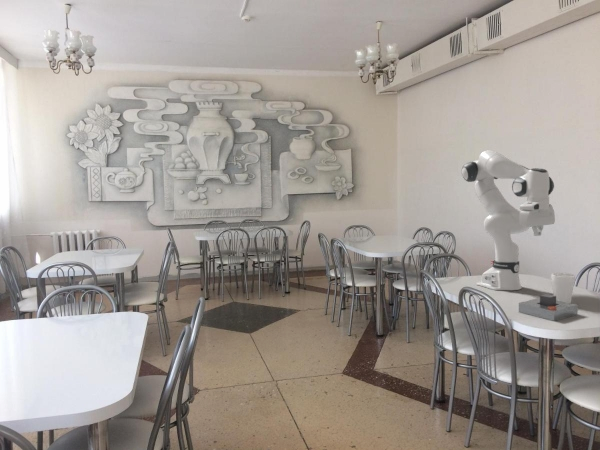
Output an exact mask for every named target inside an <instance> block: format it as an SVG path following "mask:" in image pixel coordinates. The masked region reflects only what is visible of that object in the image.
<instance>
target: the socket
mask: <svg viewBox="0 0 600 450" xmlns="http://www.w3.org/2000/svg"><path fill="white" fill-rule="evenodd" d="M578 307H579V306H578V304H576V303H566V302H561V301H557V300H556V305H555V306H545V305H540V297H539V298H534V299H530V300H525V301H521V302H518V313H520V314H525V315H528V316H533V317H538V318H540V319H545V320H549V321H552V322H555V321H558V320H563V319H566V318H569V317H573V316H577V315H578V310H579V309H578Z"/></svg>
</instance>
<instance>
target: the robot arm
mask: <svg viewBox="0 0 600 450" xmlns="http://www.w3.org/2000/svg"><path fill="white" fill-rule="evenodd" d="M461 176H462V177H463V180H464V181H466V182H468V183H472V182H473V183H474V182H475V183H474V186H473V187H474V190H475V193H476V194H475V195H477V198H478V200H479V202H480V204H481V205H482V206H483V209H484V210H485V211H486V213H488V214H490V215H488V216H486V217H485V218H484V220H483V230H484V231H485V232H486V233H487V234H488V235H489V236H490V238H491V239H492V241H493V243H494V252H495V256H494V257H495V258H494V260H492V261H490V264H492V267H490V268H489V269H487V270H486V271H484V272H483V273H482V275H481V279H480V280H479V281H477V282H476V286H477V285H478V286H480V287H484V288H487V289H490V290H493V291H518V290H521V289H522V285H521V279H520V275H519V274H520V261H519V248H520V247H519V245H518V244H517V243H516V242H514V241H513V240H512V237H511V235H513V234H514V235H515V234H521V233H524V232H527V231H528V230H529V229H530V228H531V229H532V231H533V236H534V237H538V236H539V237H540V236H542V232H543V230H544V226H548V225H555V221H556V217H555V216H556V215H555V210H554V208H553V207H554V206H553V205H552V204H551V203H550V195H551V194H552V193H553V191H554V188H555V184H554V181H553V179H552V178H551V176H549V171H548V170H547V169H544V168H539V167H538V168H531V169H530V168H528V167H526V166H524V165H522V164H519V163H518V162H515V161H513V160H511V159H510V158H508V157H505V156H504V155H502V154H501V153H499V152H498V151H495V150H492V149H487V150H484V151H482V152H481V153H480V154H479V156H478V159H476V160H474V161H469V162H467V163H465V164H463V166H462V168H461ZM498 179H499V180H500V179H502V180H503V179H504V180H505V179H507V180H510V179H512V180H513V179H514V180H513V182H512V184H511V188H512V192H513V194H514V195H515V196H516V197H517V198H518V197H519V198H527V200H526V201H524V203H522V204H520V205H519V210H520V211H519V210H518V209H517V208H516V207H514V206H513V205H512V204H510V203H509V202H508V201H507V199H506V198H505V196H503V194H502V193H501V191H500V189H499V188H498V187H497V186H496V183H495V181H494V180H498Z"/></svg>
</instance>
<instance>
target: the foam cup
mask: <svg viewBox="0 0 600 450" xmlns="http://www.w3.org/2000/svg"><path fill="white" fill-rule="evenodd" d="M550 280H551V284H552V292H553V294H552V295H554V296H556V300H557V301H561V302H566V303H571V302H572V299H573V298H572V297H573V293H574V285H575V281H576V274H572V273H567V272H552V273H551V274H550ZM571 304H572V303H571Z"/></svg>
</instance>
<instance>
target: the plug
mask: <svg viewBox="0 0 600 450" xmlns="http://www.w3.org/2000/svg"><path fill="white" fill-rule="evenodd" d="M539 298H540V305H545V306H555V305H556V296H554V294H549V293H548V294H547V293H545V294H542V295H539Z"/></svg>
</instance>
